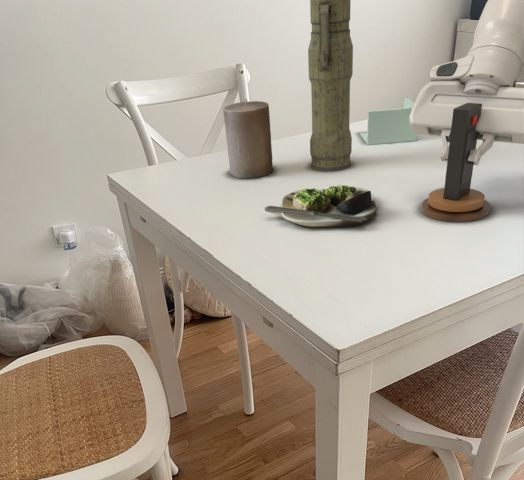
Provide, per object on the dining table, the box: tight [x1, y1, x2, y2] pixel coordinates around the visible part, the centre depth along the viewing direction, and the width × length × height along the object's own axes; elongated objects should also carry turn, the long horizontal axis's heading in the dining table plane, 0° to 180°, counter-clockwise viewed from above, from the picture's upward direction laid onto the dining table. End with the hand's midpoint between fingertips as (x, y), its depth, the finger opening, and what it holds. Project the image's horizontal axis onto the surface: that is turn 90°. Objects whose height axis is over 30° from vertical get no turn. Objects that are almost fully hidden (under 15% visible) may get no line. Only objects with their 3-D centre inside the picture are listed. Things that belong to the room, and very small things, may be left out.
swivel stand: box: [420, 197, 491, 223], centre depth 92 cm, size 11×11×1 cm
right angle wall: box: [359, 97, 419, 146], centre depth 134 cm, size 12×12×8 cm
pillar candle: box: [222, 98, 274, 179], centre depth 115 cm, size 10×10×15 cm
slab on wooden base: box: [427, 103, 486, 212], centre depth 87 cm, size 9×9×15 cm
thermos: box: [307, 0, 354, 172], centre depth 109 cm, size 9×12×35 cm
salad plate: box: [264, 184, 378, 228], centre depth 94 cm, size 19×18×5 cm
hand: (458, 161), depth 86 cm, fingers closed on slab on wooden base, 3 cm apart
